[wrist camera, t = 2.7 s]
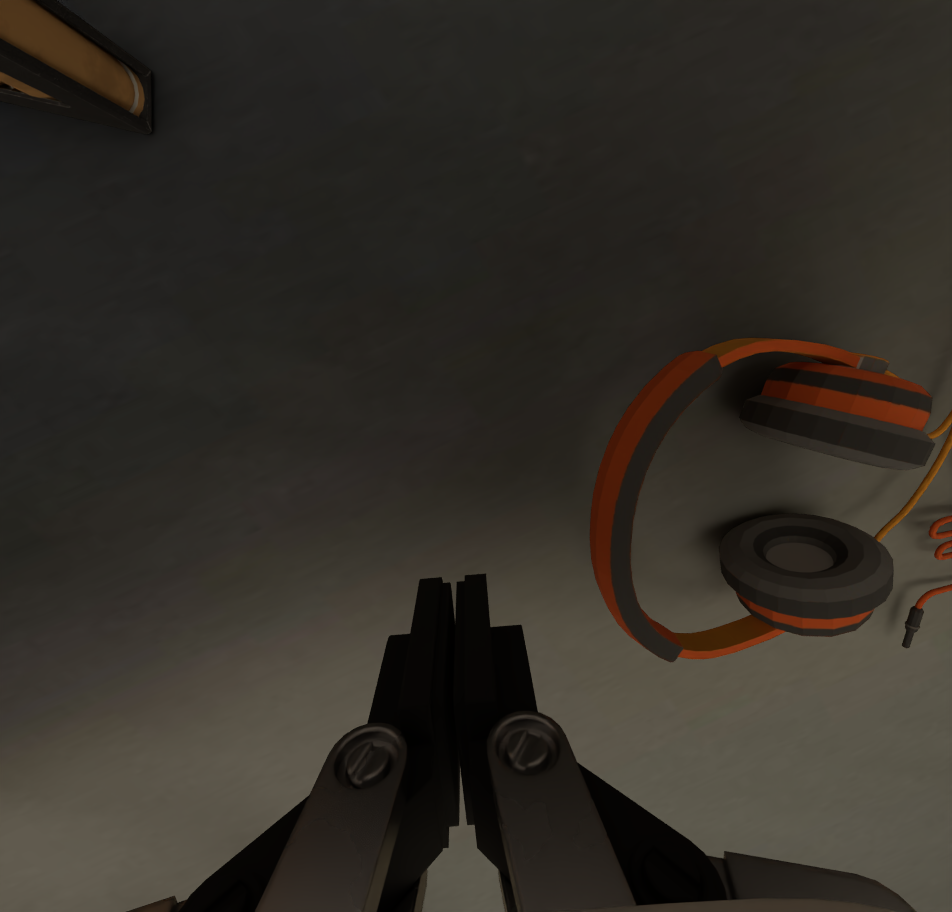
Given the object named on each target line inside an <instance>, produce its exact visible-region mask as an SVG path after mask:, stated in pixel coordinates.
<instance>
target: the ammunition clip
mask: <svg viewBox="0 0 952 912" xmlns="http://www.w3.org/2000/svg"><path fill="white" fill-rule="evenodd" d="M0 101H2V102H6V103H11V104H15V105H20V106H24V107H28V108H33V109H37V110H41V111H46V112H50V113H55V114H59V115H63V116H68V117H72V118H77V119H81V120H85V121H90V122H94V123H98V124H103V125H107V126H112V127H116V128H120V129H125V130H129V131H134V132H138V133H142V134H147V135H148V134H149V133H150V132H151V71H150V70H149V69H148V68H147V67H146V66H145V65H143V64H142V63H140V62H139V61H138V60H136V59H135V58H134V57H132V56H131V55H130V54H128V53H127V52H126V51H124V50H123V49H122V48H120V47H119V46H117V45H116V44H115V43H113V42H112V41H111V40H109V39H108V38H107V37H105V36H104V35H103V34H101V33H100V32H98V31H97V30H96V29H94V28H93V27H92V26H90V25H89V24H88V23H86V22H85V21H84V20H82V19H81V18H80V17H78V16H77V15H75V14H74V13H73V12H71V11H70V10H69V9H67V8H66V7H65V6H63V5H62V4H61V3H59V2H58V1H56V0H0Z"/></svg>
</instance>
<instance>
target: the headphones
mask: <svg viewBox="0 0 952 912" xmlns="http://www.w3.org/2000/svg"><path fill="white" fill-rule="evenodd" d="M772 351H781V352H789V353H794V354H798V355H802V356H805V357H809V358H812V359H814V360H817V361H819V362H822V363H812V362H791V363H787V364H785V365H782V366H779V367H777V368H775V369H774V370H773V372H772V373H771V374H770V376H769V377H768V379H767V380H766V383H765V385H764V388H763V390H762V393H761V395H757V396H755V397H752V398H749V399H747V400H746V401H745V404H744V407H743V409H742V412H741V415H740V417H739V419H740V420H741V422H742V423H743V424H744V426H745V427H746V428H748V429H750V430H752V431H754V432H756V433H758V434H760V435H763V436H766V437H768V438H771V439H775V440H778V441H781V442H785V443H788V444H792V445H795V446H798V447H802V448H806V449H809V450H813V451H817V452H820V453H824V454H828V455H832V456H835V457H839V458H843V459H847V460H851V461H855V462H859V463H863V464H868V465H872V466H877V467H881V468H890V469H899V470H910V469H914V468H918V467H922V466H925V464H926V462H927V460H928V458H929V456H930V454H931V452H932V450H933V448H934V446H935V443H934V442H933V441H932V440H931V439H933V438H936V437H938V436H939V435H941V434H942V433H943V432H944V431H945V430H946V429H947V428H948V427H949V426H950V424H951V423H952V410H951V412H950V414H949V415H948V416H947V418H946V419H945V420H944V422H943V423H942V424H941V425H940V426H939V427H938V428H937V429H936V430H935V431H933V432H931V433H929V434H926V433H925V432H923V431H922V430H923V428H924V426H925V424H926V422H927V420H928V418H929V415H930V413H931V405H932V397H931V396H930V395H929V394H928V393H927V392H926V390H925V389H924V388H923V387H922V386H920V385H917V384H915V383H912V382H909V381H907V380H904V379H901V378H899V377H898V376H896V375H894V374H893V373H891V372H889V371H888V370H886V369H887V367H888V365H889V362H888V361H887V360H885V359H883V358H879V357H875V356H870V355H865V354H859V353H852V352H848V351H846V350H842V349H839V348H836V347H832V346H829V345H824V344H818V343H811V342H804V341H798V340H784V339H767V338H742V339H732V340H729V341H726V342H723V343H719V344H716V345H713V346H711V347H709V348H707V349H705V350H703V351H692V352H687V353H683V354H681V355H679V356H677V357H676V358H675V359H674V360H672V361H671V362H670V363H669V364H667V365H666V366H665V367H664V368H663V369H662V370H661V371H660V372H659V373H658V374H657V375H655V376H654V377H653V378H652V379H651V380H650V381H649V382H648V383H647V384H646V385H645V386H644V388H643V389H642V390H641V391H640V393H639V394H638V395H637V397H636V398H635V399H634V400H633V402H632V403H631V404H630V406H629V407H628V408H627V410H626V412H625V413H624V415H623V416H622V418H621V420H620V421H619V423H618V425H617V427H616V429H615V431H614V433H613V435H612V437H611V439H610V441H609V443H608V445H607V448H606V451H605V454H604V456H603V459H602V462H601V464H600V467H599V471H598V475H597V479H596V483H595V488H594V492H593V499H592V507H591V520H590V549H591V560H592V565H593V569H594V574H595V578H596V581H597V584H598V586H599V589H600V591H601V594H602V596H603V598H604V600H605V603H606V605H607V607H608V609H609V610H610V612H611V613H612V615H613V617H614V618H615V620H616V622H617V623H618V625H619V626H620V627H621V628H622V629H623V630H624V631H625V632H626V633H627V634H628V635H629V636H630V637H631V638H633V639H634V640H635V641H637V642H638V643H639V644H641V645H642V646H643V647H645V648H646V649H647V650H649V651H650V652H652V653H653V654H655V655H656V656H658V657H660V658H662V659H664V660H666V661H669V662H674V661H675V660H676V659H677V657H681V658H688V659H709V658H716V657H719V656H723V655H727V654H731V653H735V652H738V651H740V650H743V649H746V648H748V647H751V646H754V645H756V644H759V643H761V642H764V641H767V640H769V639H772V638H774V637H776V636H778V635H780V634H782V633H784V632H790V633H794V634H798V635H801V636H824V637H832V636H836V635H840V634H844V633H847V632H851V631H855V630H856V629H858V628H859V627H860V626H861V625H862V624H863V623H865V622H866V621H867V620H868V619H869V618H870V616H871V615H872V613H873V611H874V609H875V608H876V607H878V606H879V605H880V604H882V603H883V602H885V601H886V599H887V598H888V596H889V594H890V592H891V591H892V587H893V559H892V557H891V556H890V554H889V552H888V551H887V549H886V547H884V546H883V545H882V544H881V543H880V541H881V539H882V538H883V537H884V536H885V535H886V534H887V532H889V531H890V530H891V529H892V528H893V527H894V526H895V525H896V524H897V523H898V522H900V521H901V520H902V519H903V518H904V517H905V516H906V515H907V513H908V512H909V511H910V510H911V509H912V508H913V506H914V505H915V504H916V502H917V501H918V500H919V498H920V497H921V496H922V494H923V493H924V491H925V490H926V488H927V487H928V485H929V484H930V483H931V481H932V480H933V478H934V476H935V475H936V473H937V472H938V470H939V468H940V467H941V465H942V463H943V461H944V460H945V458H946V456H947V454H948V452H949V450H950V449H951V447H952V428H951V430H950V432H949V435H948V437H947V439H946V441H945V443H944V445H943V447H942V449H941V451H940V453H939V455H938V457H937V459H936V460H935V462H934V464H933V465H932V467H931V469H930V471H929V472H928V474H927V475H926V477H925V478H924V480H923V481H922V483H921V484H920V486H919V487H918V489H917V490H916V492H915V493H914V494H913V496H912V497H911V498H910V500H909V501H908V502H907V504H906V505H905V506H904V507H903V508H902V510H901V511H900V512H899V513H898V514H897V515H896V516H895V517H894V518H893V519H891V520H890V521H889V522H888V523H887V524H886V525H885V526H884V527H883V528H882V529H881V530H880V531H879V532H878V533H877V534H876V535H875V537H873V536H871V535H869V534H867V533H865V532H863V531H861V530H860V529H858V528H856V527H853V526H851V525H848V524H845V523H842V522H839V521H837V520H834V519H830V518H825V517H820V516H815V515H806V514H776V515H769V516H763V517H760V518H756V519H753V520H750V521H747V522H744V523H742V524H740V525H738V526H737V527H735V528H733V529H731V530H730V531H729V532H728V533H727V534H726V535H725V536H724V537H723V539H722V541H721V544H720V546H719V553H720V563H721V572H722V574H723V576H724V578H725V580H726V581H727V583H728V585H730V586H731V587H732V588H733V589H734V590H735V591H736V594H737V596H738V599H739V601H740V603H741V604H742V605H743V606H744V607H745V608H746V609H747V610H748V611H749V612H750V613H751V614H752V615H749V616H747V617H745V618H742V619H740V620H737V621H734V622H731V623H728V624H726V625H723V626H720V627H717V628H713V629H710V630H706V631H702V632H696V633H673V632H671V631H670V630H668V629H667V628H665V627H664V626H662V625H661V624H659V623H657V622H655V621H654V620H652V619H651V618H649V617H648V615H647V614H646V613H645V612H644V611H643V610H642V609H641V607H640V605H639V603H638V601H637V597H636V593H635V589H634V586H633V581H632V572H631V539H632V529H633V519H634V515H635V510H636V505H637V500H638V496H639V493H640V490H641V487H642V484H643V481H644V478H645V475H646V472H647V470H648V468H649V466H650V463H651V461H652V459H653V457H654V455H655V453H656V450H657V449H658V447H659V445H660V444H661V442H662V441H663V439H664V437H665V436H666V434H667V432H668V431H669V429H670V428H671V427H672V425H673V424H674V423H675V422H676V420H677V419H678V418H679V416H680V415H681V414H682V413H683V411H684V410H685V409H686V408H687V407H688V406H689V405H690V404H691V403H692V402H693V401H694V400H695V399H696V398H697V397H698V396H699V395H700V394H701V393H702V392H703V391H704V390H706V389H707V388H708V387H709V386H710V385H712V384H713V383H714V382H715V381H717V380H718V379H719V378H720V376H721V375H722V371H723V369H722V367H724V366H726V365H728V364H730V363H732V362H734V361H736V360H738V359H741V358H744V357H747V356H750V355H753V354H757V353H762V352H772ZM951 521H952V515H951V516H947V517H944V518H941V519H939V520H937V521H935V522H934V523H933V524H932V526H931V527H930V530H929V536H930V537H931V538H933V539H941V538H945V537H950V536H952V530H951V531H946V532H942V533H936V532H937V529H938V528H939V527H940V526H941V525H943V524H945V523H948V522H951ZM949 547H952V540H951V541H948V542H945V543H943V544H941V545H940V546H939V547H938V548H937V549H936V551H935V554H934V556H935V558H937V559H938V560H945V559H949V558H952V552H949V553H945V554H942V553H943V551H944V550H945V549H947V548H949ZM951 590H952V584H951V585H947V586H943V587H940V588H936V589H933V590H930V591H928V592H926V593H925V594H924V595H922V596H921V597H920V599H919V600H918V601H917V603H916V605H915V606H913V607H911V609H910V612H909V615H908V619H907V621H906V622H905V624H906V625H905V628H906V634H905V637H904V640H903V643H902V646H903V647H905V648H909V647H910V644H911V641H912V638H913V635H914V633H915V632H917V631H918V629H919V628H920V626H919V625H920V622H921V619H922V616H923V613H924V611H923V609H922V606H923V604H924V603H925V602H926V601H927V600H928V599H929V598H930V597H932V596H934V595H936V594H940V593H944V592H947V591H951Z"/></svg>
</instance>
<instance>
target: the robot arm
mask: <svg viewBox="0 0 952 912" xmlns="http://www.w3.org/2000/svg"><path fill="white" fill-rule="evenodd" d="M460 768H461V777H462V785H463V794H464V802H465V811H466V819H467V825H475V832H476V841H477V848H478V849H479V850H480V851H481V852H482V853H483V854H484V855H485V856H486V857H487V858H488V859H489V860H490V861H491V862H492V863H493V864H494V865H495V866H496V867H497V868H498V875H499V883H500V888H501V893H502V898H503V904H504V909H505V912H916V911H915V910H914V909H913V908H912V907H911V906H910V905H909V904H908V903H907V902H906V901H905V900H904V899H903V898H901V897H900V896H899V895H898V894H897V893H895V892H893V891H892V890H890V889H889V888H887V887H885V886H884V885H882V884H881V883H879V882H877V881H875V880H872V879H869V878H866V877H864V876H861V875H858V874H853V873H848V872H842V871H836V870H830V869H825V868H819V867H813V866H807V865H802V864H796V863H790V862H784V861H779V860H773V859H767V858H761V857H756V856H750V855H744V854H739V853H733V852H727V851H724V859H723V858H717V857H712V856H706V855H705V853H704V852H703V851H701V850H700V849H699V848H698V847H697V846H696V845H695V844H693V843H692V842H691V841H690V840H689V839H687V838H686V837H684V836H683V835H681V834H680V833H678V832H677V831H676V830H674V829H673V828H671V827H670V826H668V825H667V824H665V823H664V822H663V821H661V820H660V819H658V818H657V817H655V816H654V815H652V814H651V813H650V812H648V811H647V810H645V809H644V808H642V807H641V806H639V805H638V804H637V803H635V802H634V801H632V800H631V799H629V798H628V797H626V796H625V795H624V794H622V793H621V792H619V791H618V790H616V789H615V788H613V787H612V786H611V785H609V784H608V783H606V782H605V781H603V780H602V779H600V778H599V777H598V776H596V775H595V774H593V773H592V772H590V771H589V770H587V769H586V768H585V767H583V766H582V765H580V764H579V763H577V761H576V758H575V756H574V754H573V751H572V749H571V747H570V744H569V742H568V739H567V737H566V735H565V733H564V732H563V730H562V728H561V727H560V725H558V724H557V723H556V722H555V721H554V720H553V719H552V718H550V717H548V716H546V715H544V714H542V713H539V712H538V711H537V705H536V700H535V694H534V689H533V683H532V678H531V673H530V667H529V662H528V656H527V651H526V645H525V640H524V634H523V629H522V626H521V625H512V626H500V627H490V618H489V605H488V593H487V581H486V574H476V575H465V581H462V582H457V589H456V621H455V618H454V609H453V600H452V591H451V583H450V582H449V583H443V581H442V577H439V578H427V579H420V581H419V586H418V592H417V598H416V604H415V610H414V615H413V621H412V627H411V633H410V634H402V635H390V636H389V638H388V641H387V644H386V649H385V653H384V657H383V661H382V665H381V669H380V674H379V678H378V682H377V686H376V690H375V694H374V699H373V703H372V707H371V711H370V715H369V719H368V724H365V725H363V726H360V727H357V728H355V729H353V730H352V731H350V732H348V733H347V734H345V735H344V736H343V737H342V738H341V739H340V740H339V741H338V742H337V743H336V744H335V745H334V747H333V748H332V750H331V752H330V753H329V755H328V757H327V759H326V761H325V763H324V765H323V767H322V770H321V772H320V774H319V776H318V778H317V780H316V782H315V784H314V787H313V789H312V791H311V793H310V795H309V796H308V797H306V798H305V799H304V800H303V801H302V802H300V803H299V804H298V805H297V806H295V807H294V808H293V809H292V810H291V811H289V812H288V813H287V814H286V815H284V816H283V817H282V818H281V819H280V820H278V821H277V822H276V823H275V824H273V825H272V826H271V827H270V828H269V829H267V830H266V831H265V832H264V833H262V834H261V835H260V836H259V837H258V838H256V839H255V840H254V841H253V842H252V843H250V844H249V845H248V846H247V847H245V848H244V849H243V850H242V851H241V852H239V853H238V854H237V855H236V856H234V857H233V858H232V859H231V860H230V861H228V862H227V863H226V864H225V865H223V866H222V867H221V868H220V869H219V870H217V871H216V872H215V873H214V874H212V875H211V876H210V877H209V878H208V879H206V880H205V881H204V882H203V883H202V884H201V885H200V886H199V887H198V888H197V889H196V890H195V891H194V892H193V893H192V894H191V895H190V896H189V898H188V899H187V900H185V901H182V902H179V903H177V900H176V898H175V896H172V897H169V898H166V899H163V900H160V901H157V902H154V903H151V904H148V905H145V906H142V907H139V908H136V909H133V910H130V911H127V912H422V908H423V902H424V897H425V892H426V887H427V873H428V872H427V868H428V867H429V866H430V865H431V863H432V862H433V861H434V860H435V859H436V858H437V857H438V855H439V854H440V853H441V852H442V851H443V848H449V827H451V826H459V801H460Z"/></svg>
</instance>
